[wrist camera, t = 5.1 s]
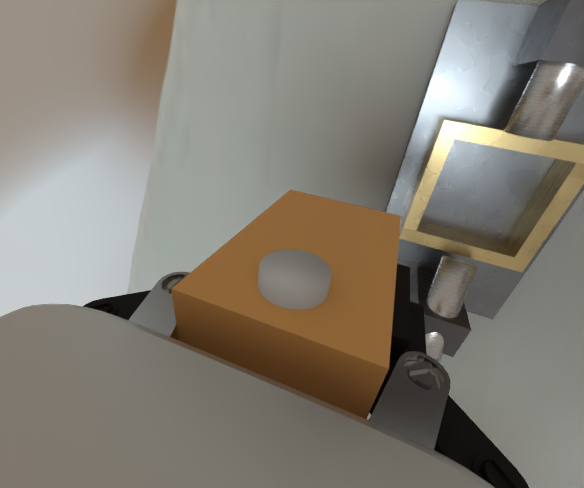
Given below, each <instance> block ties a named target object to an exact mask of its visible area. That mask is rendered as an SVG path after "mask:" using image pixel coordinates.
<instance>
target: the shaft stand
mask: <svg viewBox="0 0 584 488" xmlns="http://www.w3.org/2000/svg"><path fill="white" fill-rule="evenodd" d="M583 190H584V0H547V1H546V2H544V3H542V4H541V5H539V6H535V5H523V4H512V3H500V2H489V1H478V0H457V2H456V4H455V6H454V9H453V12H452V15H451V18H450V20H449V23H448V26H447V29H446V32H445V35H444V38H443V41H442V44H441V47H440V50H439V53H438V56H437V59H436V62H435V65H434V68H433V71H432V74H431V77H430V80H429V83H428V86H427V89H426V92H425V95H424V98H423V101H422V104H421V107H420V110H419V113H418V116H417V119H416V122H415V125H414V127H413V130H412V133H411V136H410V139H409V142H408V145H407V148H406V151H405V154H404V157H403V160H402V163H401V166H400V169H399V172H398V175H397V178H396V181H395V184H394V187H393V190H392V193H391V196H390V199H389V202H388V205H387V208H386V211H385V212H386V213H391V214H395V215H399V216H401V220H400V233H399V246H398V259H397V264H401V265H404V266H408V267H410V301H411V302H415V303H418V304H421V305H423V307H424V320H425V336H426V352H427V355H428V356H430V357H432V358H433V359H435V360H436V361H438V362H439V361H440V359H441V357H442V354H443V353H444V354H446V355H449V356H452V357H453V356H454V355H455V353H456V352H457V350H458V349H459V347H460V346H461V344H462V343H463V341H464V340H465V338H466V337H467V335H468V334H469V332H470V331H471V328H470V324H469V320H468V316H467V312H466V311H468V312H472V313H475V314H478V315H481V316H484V317H487V318H490V319H493V318H494V316H495V315H496V314H497V312H498V311H499V309H500V308H501V306H502V305H503V304H504V302H505V301H506V299H507V298H508V297H509V295H510V294H511V292H512V291H513V289H514V288H515V287H516V285H517V284H518V282H519V281H520V279H521V278H522V277H523V275H524V274H525V272H526V271H527V270H528V268H529V267H530V265H531V264H532V262H533V261H534V260H535V258H536V257H537V255H538V254H539V252H540V251H541V250H542V248H543V247H544V245H545V244H546V243H547V241H548V240H549V238H550V237H551V235H552V234H553V233H554V231H555V230H556V228H557V227H558V226H559V224H560V223H561V221H562V220H563V218H564V217H565V216H566V214H567V213H568V211H569V210H570V208H571V207H572V206H573V204H574V203H575V201H576V200H577V199H578V197H579V196H580V194H581V193H582V191H583Z"/></svg>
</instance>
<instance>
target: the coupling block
mask: <svg viewBox="0 0 584 488" xmlns="http://www.w3.org/2000/svg"><path fill="white" fill-rule="evenodd" d="M400 220H401V216H399V215H395V214H391V213H386V212H382V211H378V210H374V209H369V208H365V207H361V206H357V205H353V204H348V203H344V202H340V201H336V200H332V199H327V198H323V197H319V196H315V195H311V194H306V193H302V192H298V191H294V190H290V191H288V192H287V193H286V194H285V195H284V196H282V197H281V198H280V199H279V200H278V201H276V202H275V203H274V204H273V205H272V206H270V207H269V208H268V209H267V210H266V211H264V212H263V213H262V214H261V215H260V216H258V217H257V218H256V219H255V220H254V221H252V222H251V223H250V224H249V225H247V226H246V227H245V228H244V229H243V230H241V231H240V232H239V233H238V234H237V235H235V236H234V237H233V238H232V239H231V240H229V241H228V242H227V243H226V244H225V245H223V246H222V247H221V248H220V249H219V250H217V251H216V252H215V253H214V254H213V255H211V256H210V257H209V258H208V259H206V260H205V261H204V262H203V263H202V264H200V265H199V266H198V267H197V268H196V269H194V270H193V271H192V272H191V273H190V274H188V275H187V276H186V277H185V278H184V279H182V280H181V281H180V282H179V283H178V284H176V285H175V286H174V287H173V288H172V297H173V305H174V312H175V320H176V324H177V332H178V341H181V342H183V343H186V344H188V345H191V346H193V347H196V348H198V349H200V350H203V351H205V352H208V353H210V354H213V355H215V356H217V357H220V358H222V359H225V360H227V361H229V362H232V363H234V364H237V365H239V366H241V367H244V368H246V369H249V370H251V371H253V372H256V373H258V374H261V375H263V376H265V377H268V378H270V379H272V380H275V381H277V382H280V383H282V384H284V385H287V386H289V387H292V388H294V389H296V390H299V391H301V392H303V393H306V394H308V395H310V396H313V397H315V398H317V399H320V400H322V401H325V402H327V403H329V404H332V405H334V406H336V407H339V408H341V409H343V410H346V411H348V412H350V413H353V414H355V415H358V416H360V417H362V418H365V419H367V416H368V414H369V412H370V410H371V407H372V405H373V403H374V401H375V399H376V396H377V394H378V392H379V390H380V388H381V385H382V383H383V381H384V379H385V376H386V374H387V372H388V370H389V362H390V349H391V336H392V323H393V310H394V297H395V284H396V271H397V259H398V246H399V233H400Z"/></svg>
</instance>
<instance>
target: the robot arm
mask: <svg viewBox="0 0 584 488" xmlns="http://www.w3.org/2000/svg"><path fill="white" fill-rule="evenodd" d="M188 274H190V273H188V272H174V273H171V274H167V275H166V276H164V277H162V278H161V279H160V280H159V281H158V282H157V284H156V285H155V286H154V287H153V289H152V290H150V291H144V292H138V293H133V294H127V295H122V296H116V297H110V298H104V299H99V300H95V301H92V302H90V303H88V304H86V305H84V306H83V307H82V306H76V305H69V304H42V305H32V306H28V307H24V308H21V309H18V310H16V311H13V312H10V313H8V314H6V315H4V316H2V317H0V488H529V487H528V485H527V483H526V481H525V479H524V478H523V477H522V475H521V474H520V473H519V472H518V470H517V469H516V468H515V467H514V466H513V465H512V464H511V462H510V461H509V460H508V459H507V458H506V457H505V456H504V455H503V454H502V453H501V452H500V450H499V449H498V448H497V447H496V446H495V445H494V444H493V443H492V442H491V441H490V440H489V438H488V437H487V436H486V435H485V434H484V433H483V432H482V431H481V430H480V429H479V428H478V427H477V425H476V424H475V423H474V422H473V421H472V420H471V419H470V418H469V417H468V416H467V415H466V413H465V412H464V411H463V410H462V409H461V408H460V407H459V406H458V405H457V404H456V403H455V402H454V400H453V399H452V398H451V397H450V396H449V395H448V393H449V390H450V379H449V376H448V373H447V372H446V370H445V369H444V368H443V366H442V365H441V364H440V363H439V362H438V361H436V360H435V359H433V358H432V357H430V356H428V355H427V352H426V336H425V320H424V307H423V305H421V304H418V303H415V302H411V301H410V267H408V266H404V265H401V264H397V271H396V284H395V297H394V310H393V323H392V336H391V349H390V362H389V370H388V372H387V374H386V376H385V379H384V381H383V383H382V385H381V388H380V390H379V392H378V394H377V396H376V399H375V401H374V403H373V405H372V407H371V410H370V414H371V417H370V419H369V420H367V419H365V418H362V417H360V416H358V415H355V414H353V413H350V412H348V411H346V410H343V409H341V408H339V407H336V406H334V405H332V404H329V403H327V402H325V401H322V400H320V399H317V398H315V397H313V396H310V395H308V394H306V393H303V392H301V391H299V390H296V389H294V388H292V387H289V386H287V385H284V384H282V383H280V382H277V381H275V380H272V379H270V378H268V377H265V376H263V375H261V374H258V373H256V372H253V371H251V370H249V369H246V368H244V367H241V366H239V365H237V364H234V363H232V362H229V361H227V360H225V359H222V358H220V357H217V356H215V355H213V354H210V353H208V352H205V351H203V350H200V349H198V348H196V347H193V346H191V345H188V344H186V343H183V342H181V341H178V332H177V324H176V320H175V312H174V305H173V297H172V288H173V287H174V286H175V285H176V284H178V283H179V282H180V281H181V280H182V279H184V278H185V277H186V276H187V275H188Z"/></svg>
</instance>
